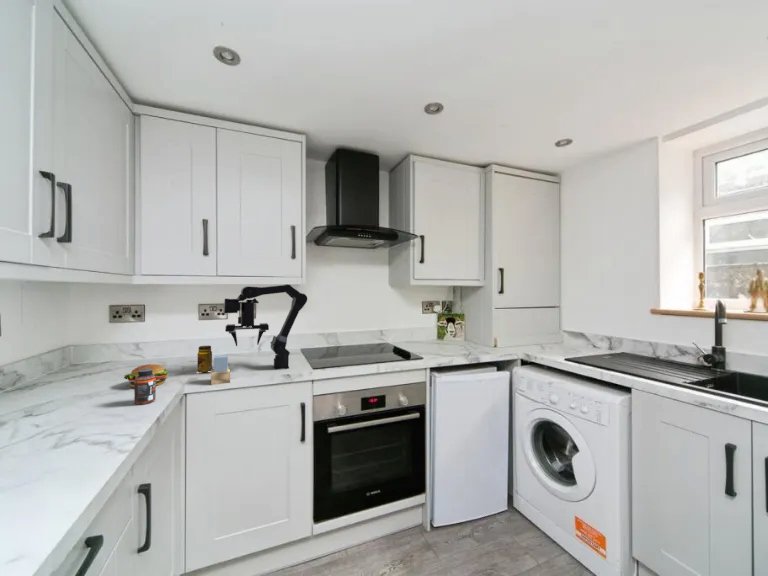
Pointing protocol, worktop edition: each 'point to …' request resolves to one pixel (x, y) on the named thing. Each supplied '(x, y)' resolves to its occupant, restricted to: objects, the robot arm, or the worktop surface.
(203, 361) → the condiment
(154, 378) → the supplement bottle
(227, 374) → the tan block
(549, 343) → the worktop surface
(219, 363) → the blue block
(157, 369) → the food
